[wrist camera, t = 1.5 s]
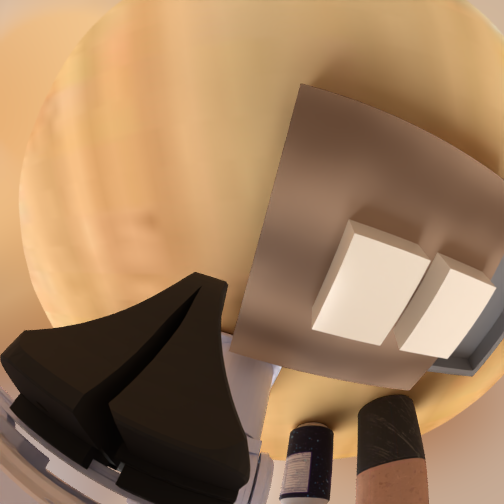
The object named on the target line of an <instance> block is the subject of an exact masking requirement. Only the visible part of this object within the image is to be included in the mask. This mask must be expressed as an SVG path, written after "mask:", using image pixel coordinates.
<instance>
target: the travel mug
mask: <svg viewBox="0 0 504 504" xmlns="http://www.w3.org/2000/svg"><path fill="white" fill-rule="evenodd" d="M356 504H429V497H428V482H427V469H426V461H425V454H424V449H423V443H422V438H421V433H420V429H419V424H418V420H417V415H416V411H415V407H414V404H413V401H412V399H411V398H409V397H408V396H404V395H391V396H386V397H382V398H379V399H377V400H374V401H372V402H370V403H368V404H367V405H365V406H364V407H363V408H362V409H361V410H360V412H359V414H358V454H357V479H356Z"/></svg>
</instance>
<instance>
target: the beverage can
mask: <svg viewBox="0 0 504 504" xmlns="http://www.w3.org/2000/svg"><path fill="white" fill-rule="evenodd" d="M333 437H334V433H333V431H332V430H331V429H329V428H328V427H327V426H326V425H324V424H321V423H314V422H311V423H304V424H301V425H299V426H298V427H297V428H296V429H294V430H292V431H291V433H290V438H289V445H288V451H287V458H286V464H285V471H284V476H283V482H282V487H281V493H280V498H279V499H280V502H281V504H327V503H328V502H329V500H330V489H331V477H332V461H333Z"/></svg>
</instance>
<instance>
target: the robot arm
mask: <svg viewBox="0 0 504 504" xmlns="http://www.w3.org/2000/svg"><path fill="white" fill-rule="evenodd" d="M227 288H228V284H227V283H226V282H225V281H222V280H219V279H216V278H213V277H210V276H207V275H204V274H201V273H197V272H194V273H192V274H190V275H189V276H187V277H186V278H184V279H182V280H181V281H179V282H177V283H176V284H174V285H172V286H171V287H169V288H167V289H165V290H164V291H162V292H160V293H158V294H157V295H155V296H153V297H151V298H149V299H147V300H145V301H143V302H141V303H139V304H137V305H135V306H132V307H130V308H128V309H125V310H123V311H120V312H117V313H115V314H112V315H109V316H106V317H102V318H99V319H96V320H92V321H89V322H85V323H81V324H76V325H71V326H65V327H59V328H52V329H42V330H41V329H40V330H28V331H27V330H26V331H24V332H23V333H21V334H20V335H19V337H17V338H16V340H15V341H14V342H13V343H12V344H11V345H10V346H9V347H8V348H7V349H6V350H5V351H4V352H3V353H2V354H1V356H0V358H1V359H0V360H1V363H2V366H3V367H4V369H5V371H6V373H7V374H8V375H9V377H10V379H11V380H12V382H13V383H14V385H15V386H16V387H17V389H18V390H19V392H20V395H19V396H18V397H17V398H16V400H14V399H13V398H12V397H11V396H10V395H9V394H8V393H7V392H6V391H5V390H4V389H3V388H2V387H1V386H0V504H100V503H98V502H96V501H94V500H93V499H91V498H89V497H88V496H86V495H84V494H83V493H81V492H79V491H78V490H76V489H75V488H73V487H71V486H70V485H68V484H67V483H65V482H64V481H62V480H61V479H59V478H58V477H57V476H55V475H54V474H53V473H51V472H50V471H49V470H47V469H46V466H47V464H48V462H49V461H50V460H49V458H48V457H47V456H45V455H44V454H43V453H42V452H40V451H39V450H38V449H37V448H35V446H33V445H32V444H31V443H30V442H29V441H28V440H27V439H26V438H25V437H24V436H22V435H21V434H20V433H19V432H18V431H17V430H16V429H15V422H16V423H17V424H18V425H20V427H21V428H23V429H24V430H25V431H26V432H27V433H28V434H29V435H31V436H32V437H33V438H34V439H35V440H36V441H38V442H39V443H40V444H41V445H43V446H44V447H45V448H46V449H48V450H49V451H50V452H52V453H53V454H54V455H56V456H57V457H59V458H60V459H61V460H63V461H64V462H66V463H67V464H68V465H70V466H71V467H73V468H75V469H76V470H77V471H79V472H81V473H82V474H84V475H85V476H87V477H89V478H90V479H92V480H94V481H95V482H97V483H99V484H101V485H102V486H104V487H106V488H108V489H110V490H112V491H114V492H116V493H117V494H119V495H122V496H124V497H126V498H127V503H128V504H266V501H267V498H268V494H269V490H270V486H271V481H272V475H273V466H274V464H273V460H272V459H271V458H270V457H269V454H268V453H265V452H261V453H260V456H259V452H260V448H261V443H262V441H261V440H260V437H261V433H262V428H263V423H264V419H265V414H266V409H267V404H268V399H269V394H270V389H271V387H272V385H273V383H274V381H275V380H276V378H277V376H278V374H279V372H280V370H281V368H282V367H281V366H278V365H274V364H270V363H267V362H263V361H259V360H256V359H252V358H249V357H246V356H242V355H239V354H236V353H233V352H230V351H229V348H230V345H231V341H232V337H233V335H230V334H227V333H224V332H221V315H222V311H223V306H224V302H225V297H226V293H227ZM14 421H15V422H14ZM258 457H259V459H258ZM108 466H109V467H110V468H113V469H115V470H118V471H120V472H121V473H120V474H119V473H117V472H116V471H114V470H112V469H110V468H108Z"/></svg>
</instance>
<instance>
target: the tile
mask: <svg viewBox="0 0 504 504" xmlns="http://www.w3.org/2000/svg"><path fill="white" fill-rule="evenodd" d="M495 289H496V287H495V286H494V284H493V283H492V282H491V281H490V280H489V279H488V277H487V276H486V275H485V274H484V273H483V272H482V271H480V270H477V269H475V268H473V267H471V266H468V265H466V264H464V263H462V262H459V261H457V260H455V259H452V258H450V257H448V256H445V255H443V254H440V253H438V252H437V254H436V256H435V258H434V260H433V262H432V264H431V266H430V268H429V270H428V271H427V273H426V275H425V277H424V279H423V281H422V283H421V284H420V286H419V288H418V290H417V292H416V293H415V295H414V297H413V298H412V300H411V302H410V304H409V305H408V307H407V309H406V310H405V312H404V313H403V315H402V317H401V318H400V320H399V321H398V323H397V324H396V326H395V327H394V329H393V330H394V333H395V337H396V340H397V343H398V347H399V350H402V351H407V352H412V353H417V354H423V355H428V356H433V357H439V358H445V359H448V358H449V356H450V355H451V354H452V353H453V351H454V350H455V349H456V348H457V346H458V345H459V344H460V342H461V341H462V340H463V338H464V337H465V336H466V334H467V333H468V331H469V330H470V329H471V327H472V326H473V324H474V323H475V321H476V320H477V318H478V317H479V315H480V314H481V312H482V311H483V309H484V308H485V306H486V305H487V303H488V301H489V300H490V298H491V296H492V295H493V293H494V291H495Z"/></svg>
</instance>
